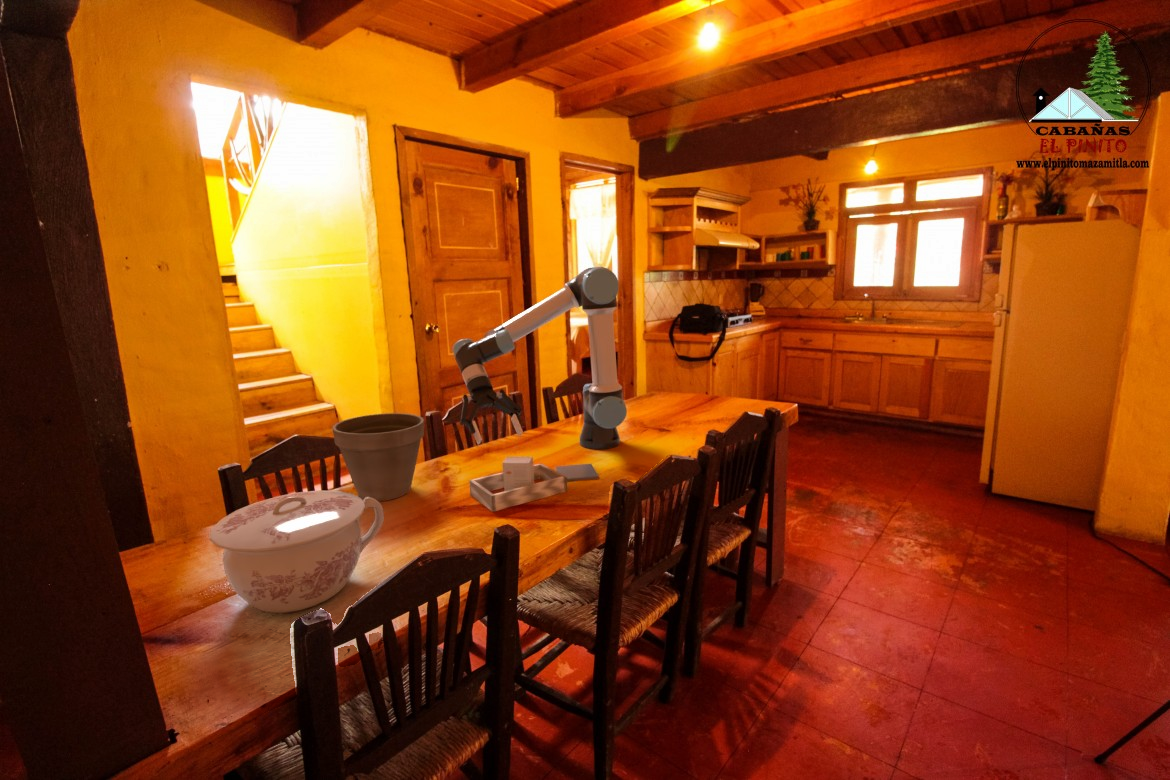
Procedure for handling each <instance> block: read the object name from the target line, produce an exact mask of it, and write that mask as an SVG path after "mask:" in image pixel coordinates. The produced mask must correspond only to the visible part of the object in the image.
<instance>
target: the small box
mask: <svg viewBox="0 0 1170 780" xmlns="http://www.w3.org/2000/svg"><path fill="white" fill-rule="evenodd" d="M533 465H534V457H533V456H506V457H505V459H504V460H503V462H502V472H503V480H504V488H503V492H504V491H508V490H512V489H516V488H519V487H523V486H527V485H531V484H535V480H534V470H533Z"/></svg>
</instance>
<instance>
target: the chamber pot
mask: <svg viewBox="0 0 1170 780" xmlns="http://www.w3.org/2000/svg"><path fill="white" fill-rule="evenodd" d="M367 508H373V511H374V515H375V516H374V521H373V523H372V525H371V526H370V528H369V530H368V531H367V532H366V534H364V535H363V536H362V532H361V531H362V530H361V527H360V524H361V516H363V515H364V512H365V509H367ZM384 518H385V513H384V508H383V505H382V504H381V503H380V501H377V500H375V499H374V498H371V497H365V498H364V499H362V498H360V497H359V495H355V494H353V493H351V492H346V491H340V490H323V489H322V490H310V491H300V492H293V493H287V494H283V495H277V496H273V497H271V498H266V499H264V500H260V501H257V502H256V501H255V502H254V503H252V504H251V503H250V504H248V505H245V506H243V507H241V508H239V509H236V510H235V511H232V512H231V513H229V514H227V515H226V516H224V517H222V518H221V519H220V520H219V521H218V522H217V523H216V524H214V526H213V527H212V528H211V529H210V531H209V532H210V533H209V539H208V540H209V541H210V542H211V543H213V545H214V546H215V547H217V548H219V549H223V555H222V563H223V564H222V565H223V569H224V573H225V576H226V578H227V580H228V583H229V584H230V587H231V589H232V590H233V591H234V592H235V594H237V595H238V596H239V597H240V598H242V599H243V600H244V601H245V602H246V603H247V604H248V605H250V606H251V607H253V608H254V609H257V610H259V611H263V612H266V613H270V614H271V613H272V614H273V613H275V614H276V613H277V614H285V613H286V614H287V613H292V612H298V611H302V610H305V609H309V608H312V607H315V606H317V605H319V604H321V603H324V602H326V601H327V600H329V599H330V598H332V597H334V596H335V595H337V594H338V593H340V591H341V590H342V589H343V588H344V587H345V586H346V585H347V583H348V582H349V581H350V578H351V576H352V574H353V573H354V571H355V569H356V567H357V565H358V562H359V560H360V556H361V553H362V552H363V551H364V549H365V548H366V546H367V545H368V544H369V543H370V542H371V541H372V540H373V539H374V538H375V537H376V536H377V534H378V532H379V531H380V530H381V528H382V526H383V524H384V520H385V519H384Z"/></svg>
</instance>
